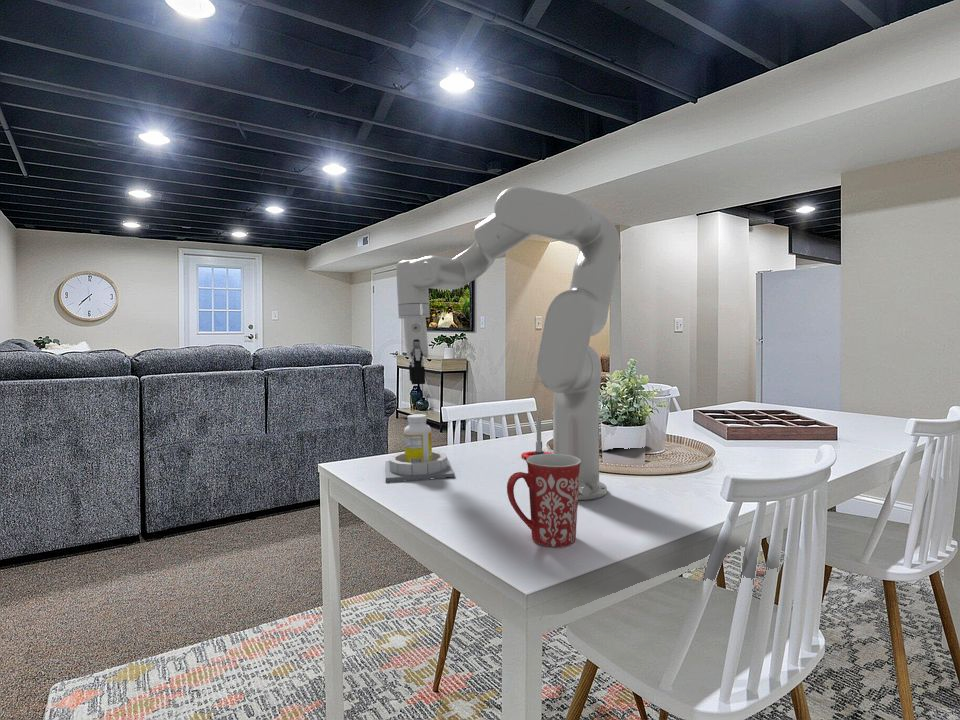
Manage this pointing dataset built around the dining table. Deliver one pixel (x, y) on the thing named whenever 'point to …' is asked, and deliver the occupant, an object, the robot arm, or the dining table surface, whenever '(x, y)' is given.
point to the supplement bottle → (417, 439)
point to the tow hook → (538, 442)
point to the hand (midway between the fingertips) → (417, 382)
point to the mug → (550, 498)
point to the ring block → (418, 468)
